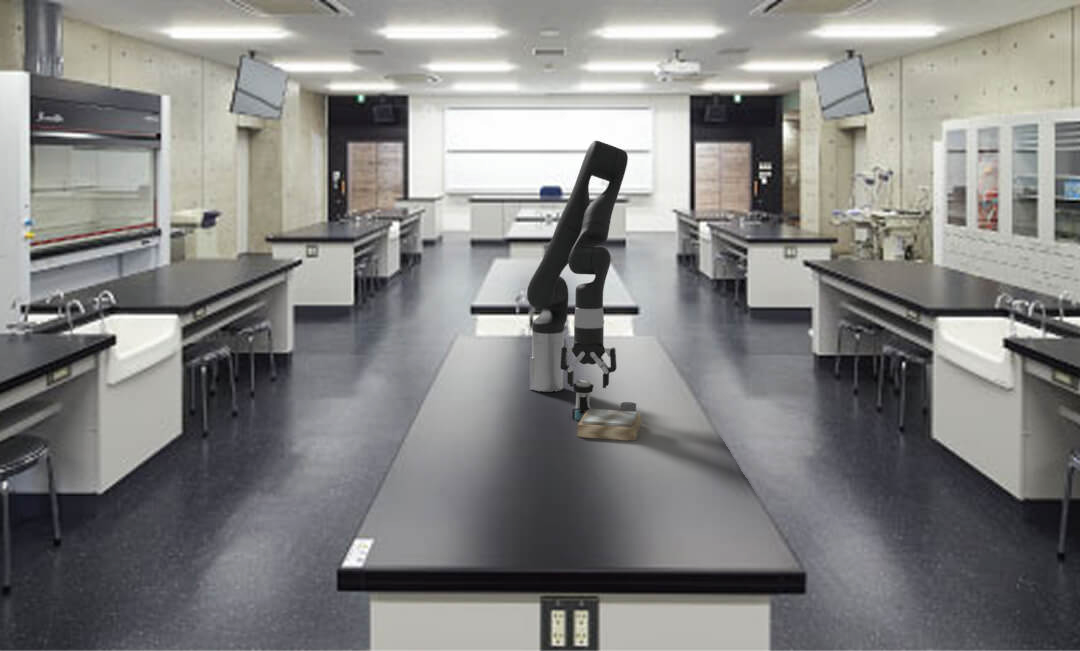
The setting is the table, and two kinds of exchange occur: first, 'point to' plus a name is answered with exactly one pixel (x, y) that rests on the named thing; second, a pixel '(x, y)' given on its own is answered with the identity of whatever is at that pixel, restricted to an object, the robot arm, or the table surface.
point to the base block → (609, 424)
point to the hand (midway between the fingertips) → (588, 386)
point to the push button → (581, 398)
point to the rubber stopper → (628, 406)
